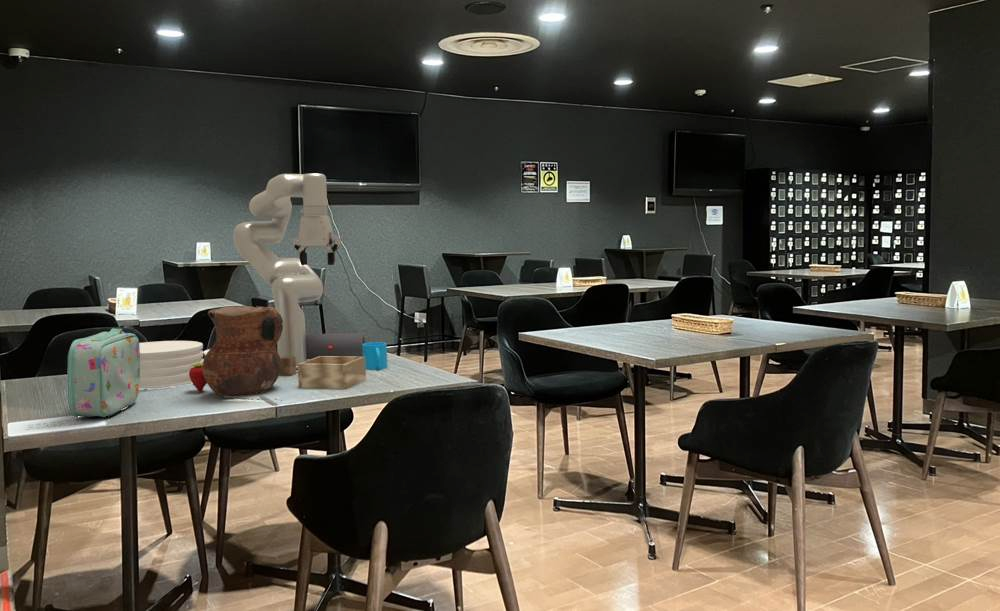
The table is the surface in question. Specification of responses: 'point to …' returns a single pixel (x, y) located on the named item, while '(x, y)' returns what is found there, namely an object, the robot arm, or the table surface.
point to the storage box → (331, 372)
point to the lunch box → (103, 373)
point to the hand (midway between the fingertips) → (317, 264)
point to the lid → (288, 366)
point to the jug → (243, 351)
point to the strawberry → (197, 376)
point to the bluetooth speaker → (334, 345)
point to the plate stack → (168, 362)
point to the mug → (375, 355)
